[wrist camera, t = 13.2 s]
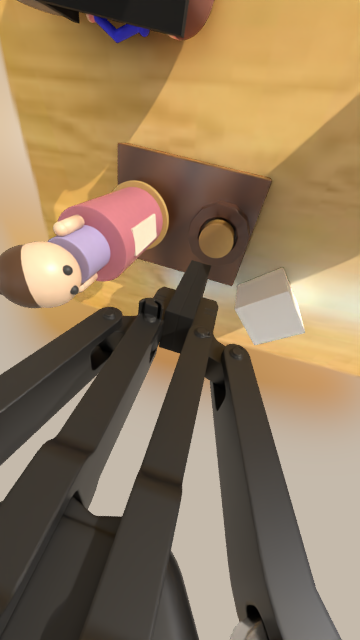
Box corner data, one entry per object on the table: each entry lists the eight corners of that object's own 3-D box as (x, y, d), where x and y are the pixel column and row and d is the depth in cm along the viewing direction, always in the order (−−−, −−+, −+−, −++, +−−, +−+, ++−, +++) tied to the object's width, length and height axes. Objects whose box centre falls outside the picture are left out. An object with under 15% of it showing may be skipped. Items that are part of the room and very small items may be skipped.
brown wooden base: (271, 178, 23) (273, 182, 21) (233, 279, 31) (231, 292, 28) (125, 142, 25) (109, 142, 22) (123, 247, 32) (111, 257, 30)
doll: (115, 245, 28) (-4, 332, 15) (103, 179, 24) (-75, 221, 11) (169, 250, 27) (89, 351, 14) (167, 181, 23) (49, 233, 10)
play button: (239, 224, 24) (238, 228, 23) (228, 256, 26) (227, 262, 25) (206, 215, 24) (203, 219, 23) (198, 247, 26) (195, 253, 25)
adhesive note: (237, 284, 31) (234, 309, 27) (282, 266, 28) (288, 290, 24) (254, 318, 34) (254, 345, 29) (298, 304, 31) (305, 333, 26)
